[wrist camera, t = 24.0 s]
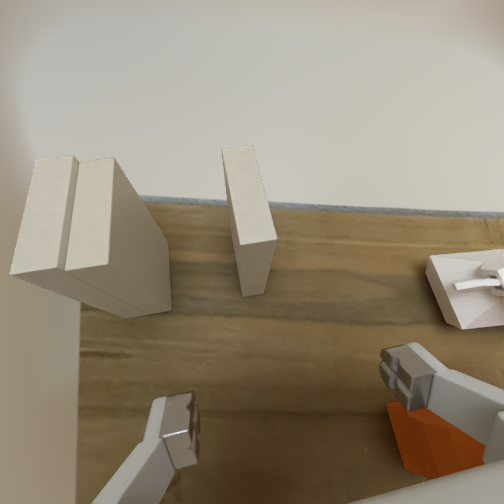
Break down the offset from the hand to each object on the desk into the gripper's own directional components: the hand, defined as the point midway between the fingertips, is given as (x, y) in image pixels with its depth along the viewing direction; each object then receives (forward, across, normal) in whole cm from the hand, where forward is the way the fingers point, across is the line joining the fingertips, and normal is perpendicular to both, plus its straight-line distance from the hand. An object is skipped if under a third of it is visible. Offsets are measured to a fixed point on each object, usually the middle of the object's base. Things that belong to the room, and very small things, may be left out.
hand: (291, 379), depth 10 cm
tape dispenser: (+14, -25, +10) cm, 31 cm away
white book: (+21, 0, +3) cm, 21 cm away
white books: (+21, +12, +3) cm, 24 cm away
